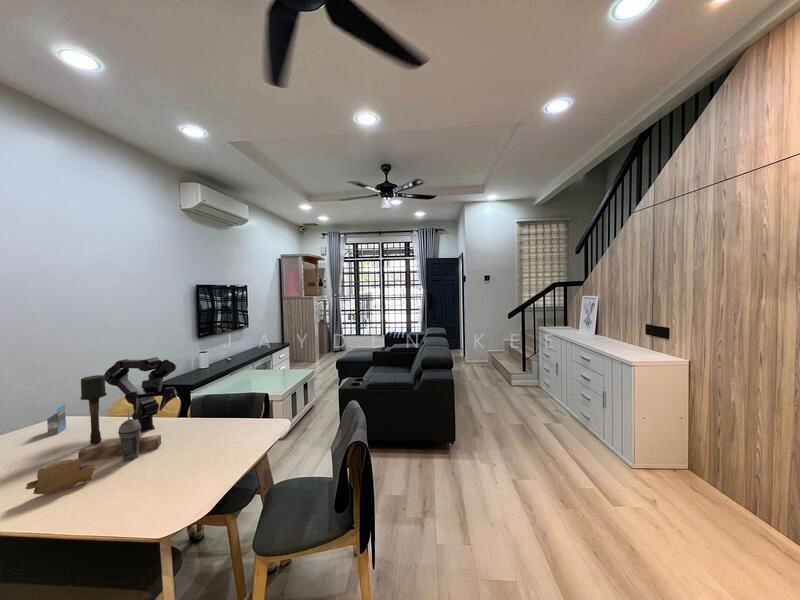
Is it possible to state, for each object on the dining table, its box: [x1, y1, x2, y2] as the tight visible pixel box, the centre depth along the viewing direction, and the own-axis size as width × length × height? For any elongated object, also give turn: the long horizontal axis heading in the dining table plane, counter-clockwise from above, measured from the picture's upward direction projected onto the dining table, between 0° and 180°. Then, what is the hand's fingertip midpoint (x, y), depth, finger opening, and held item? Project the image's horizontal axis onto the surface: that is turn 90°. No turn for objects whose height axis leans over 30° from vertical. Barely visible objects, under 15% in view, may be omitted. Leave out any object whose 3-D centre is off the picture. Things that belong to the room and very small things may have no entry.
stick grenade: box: [79, 374, 108, 446], centre depth 145 cm, size 8×9×30 cm
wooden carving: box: [25, 458, 97, 495], centre depth 110 cm, size 16×5×10 cm, turn 141°
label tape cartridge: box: [46, 403, 67, 436], centre depth 160 cm, size 9×4×12 cm, turn 28°
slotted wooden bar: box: [77, 434, 162, 463], centre depth 136 cm, size 26×5×4 cm, turn 114°
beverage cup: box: [117, 408, 142, 462], centre depth 131 cm, size 7×7×20 cm
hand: (147, 412), depth 145 cm, fingers open, 9 cm apart
